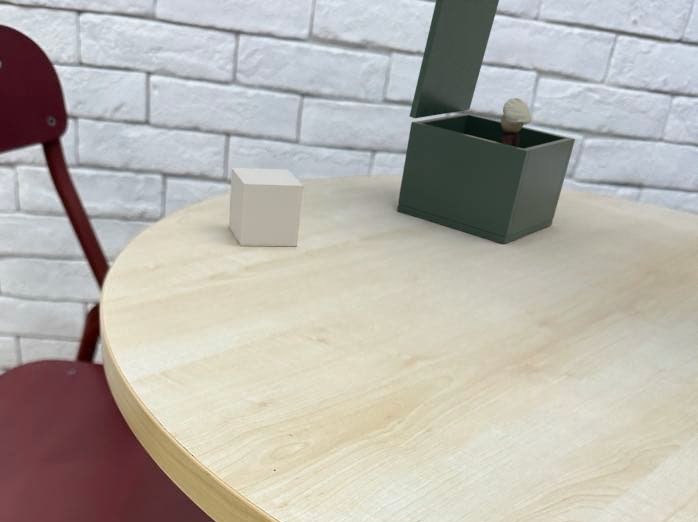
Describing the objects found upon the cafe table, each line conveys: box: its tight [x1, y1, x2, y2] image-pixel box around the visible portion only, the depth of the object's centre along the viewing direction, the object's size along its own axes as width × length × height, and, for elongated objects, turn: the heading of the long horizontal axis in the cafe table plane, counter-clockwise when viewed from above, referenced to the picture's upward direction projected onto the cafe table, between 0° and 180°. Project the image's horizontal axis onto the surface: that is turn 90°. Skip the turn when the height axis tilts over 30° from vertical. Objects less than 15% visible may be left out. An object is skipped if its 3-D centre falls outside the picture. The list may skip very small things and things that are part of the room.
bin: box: [396, 112, 576, 245], centre depth 100 cm, size 15×13×10 cm
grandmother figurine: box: [499, 97, 533, 147], centre depth 98 cm, size 8×4×13 cm, turn 168°
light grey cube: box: [228, 167, 304, 247], centre depth 87 cm, size 6×6×6 cm
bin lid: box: [409, 0, 500, 119], centre depth 96 cm, size 16×13×5 cm
